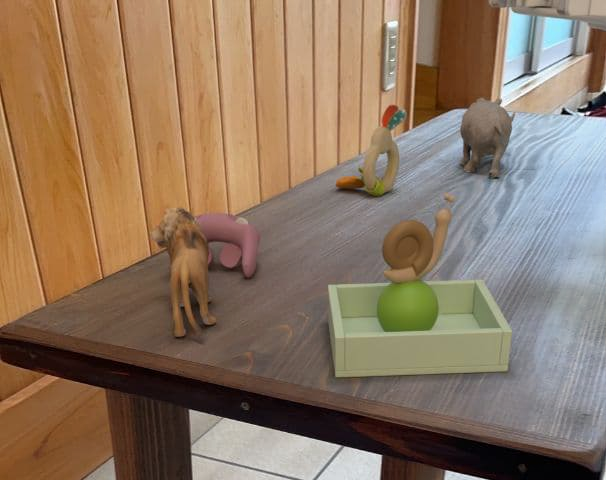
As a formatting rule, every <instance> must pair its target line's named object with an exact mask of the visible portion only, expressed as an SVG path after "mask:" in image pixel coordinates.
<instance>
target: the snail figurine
mask: <svg viewBox="0 0 606 480" xmlns="http://www.w3.org/2000/svg"><path fill="white" fill-rule="evenodd" d="M443 199H444V201H446V207H445V208H441V209H439V210H438V211H437V213H436V214H435V217H434V222H435V227H434V230H433V234H432V233H431V231H430V230H429V228H428V227H427V226H426V224H424V223H423V222H421V221H420V220H415V219H405V220H401V221H400V222H397V223H396V224H395V225H393V226H392V227H391V228H390V229H389V230H388V232H387V233H386V235H385V237H384V240H383V242H382V247H381V248H382V249H381V252H382V253H381V254H382V258H383V260H384V262H385V264H386V266H388V267H389V268H390V269H384V270H383V271H382V274H383V276H384V277H385V278H386V279H387V280H388V281H390V282H389V283H390V284H389V285H388V286H387V287H386V288H385V289H384V290H383V291H382V293H381V295H380V297H379V299H378V303H377V318H378V321H379V324H380V326H381V327H382V329H383V330H384V331H385V332H405V331H430V330H431V329H432V327H433V326H434V324H435V322H436V320H437V317H438V311H439V305H438V300H437V297H436V294H435V292H434V291H433V289H432V288H431V287H430V286H429V285H428V284H427V283H425V282H424V280H422V278H423V277H425V276H426V275H427V274H429V273H430V272H431V271H433V269H434V268H435V267H436V266H437V264H438V263H439V260H440V258H441V256H442V253H443V250H444V247H445V243H446V240H447V236H448V230H449V226H450V223H451V222H452V215H453V214H452V212H451V211H452V206H453V204H452V203H454V202H455V196H454V195H453V194H449V193H445V194H444V195H443ZM448 203H450V209H448Z"/></svg>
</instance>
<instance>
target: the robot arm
mask: <svg viewBox="0 0 606 480" xmlns="http://www.w3.org/2000/svg"><path fill="white" fill-rule="evenodd" d="M488 5H489V6H490V7H491V8H500V9H503V8H504V9H505V8H510V9H511V12H513V13H515V14H517V15H521V16H522V15H523V16H532V17H540V18H541V17H543V18H551V19H559V20H568V21H573V22H576V21H577V22H583V23H587V26H588V27H589V28H592V29H596V30H597V31H601V32H605V33H606V0H488Z"/></svg>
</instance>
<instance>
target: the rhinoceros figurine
mask: <svg viewBox="0 0 606 480" xmlns="http://www.w3.org/2000/svg"><path fill="white" fill-rule="evenodd" d="M502 103H503V99H502V98H498V97H497V98H496V99H495V101H492V100H487V99H485V98H484V97H479V98H478V99H476V101H475V102H472V103H471V104H470V106H469V107H468V108H467V110H466V111H465V112H464V114H463V115H462V118H461V123H460V129H459V131H460V132H459V133H460V137H461V139H462V154H463V155H462V159H461V160H460V161H459V164H461V165H462V166H464V168H463V170H462V171H463V172H465V173H468V174H469V173H473V172H477V170H476V169H477V168H478V167H479V166H480V164H481V161H482V159H483V158H485V157H489V156H493V157H492V159H489V161H492V163H491V167H490V170H489V172H488V175H487V178H488V179H489V178H490V179H495V178H498V179H501V174H500V167H499V165H500V163H501V160H502V158H503V156H504V155H505V153H506V151H507V148H508V146H509V143H510V139H511V135H512V131H513V122H514V119H515V117H516V111H514V112H513V113H512V114H511V116H510V114H509V112H508V111H507V110H506V108H504V107H503V106H501V105H502Z"/></svg>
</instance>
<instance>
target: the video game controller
mask: <svg viewBox="0 0 606 480" xmlns="http://www.w3.org/2000/svg"><path fill="white" fill-rule="evenodd" d="M193 216H194V215H193ZM194 218H195V221H196V222H197V223H198V224H199V226H200V227H201V230H202V233H203V235H204V236H205V237H206V239H207V244H208V248H209V256H208V268H210V267H211V266H212V265H213V264H214V262H215V253H214V251H213V249H212V248H211V246H210V243H225V244H226V245H224V247H223V248H221V251H220V254H219V261H220V263H221V265H223V266H224V267H225V268H227V269H230V270H235V269H237V268H238V267H240V265H241V267H242V272H243V275H244V277H245V278H248V279H249V278H251V277H252V276H253V275H254V273H255V270H256V267H257V262H258V255H259V244H260V241H261V233H260V232H259V229H258V228H257V227H256V226H255V225H254V224H253V223H251V222H250V221H248V220H247V219H246V218H244V217H241V216H237V215H233V214H230V213H223V212H206V213H205V212H204V213H202V214H198V215H195V216H194ZM171 266H172V264H171V262H170V258H169V257H168V268H169V272H170V273H171Z"/></svg>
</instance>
